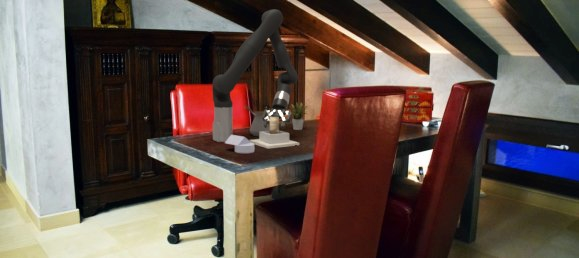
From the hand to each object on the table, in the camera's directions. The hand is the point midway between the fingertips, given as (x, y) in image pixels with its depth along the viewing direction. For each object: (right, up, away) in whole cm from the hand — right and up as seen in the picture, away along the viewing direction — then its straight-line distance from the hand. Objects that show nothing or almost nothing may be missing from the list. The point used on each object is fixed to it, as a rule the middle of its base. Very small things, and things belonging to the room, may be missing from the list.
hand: (273, 127), depth 244 cm
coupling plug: (0, -7, +3) cm, 7 cm away
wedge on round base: (-14, -11, -15) cm, 24 cm away
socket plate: (0, -8, +3) cm, 9 cm away
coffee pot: (-11, -4, +31) cm, 33 cm away
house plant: (+13, -1, +48) cm, 50 cm away
